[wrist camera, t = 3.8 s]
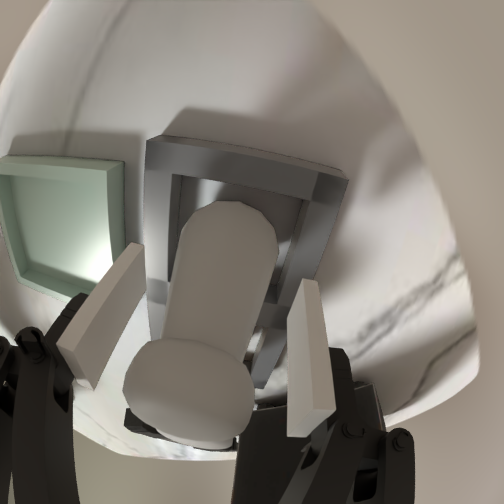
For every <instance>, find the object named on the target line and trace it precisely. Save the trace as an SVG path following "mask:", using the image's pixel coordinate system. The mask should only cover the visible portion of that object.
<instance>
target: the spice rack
mask: <svg viewBox="0 0 504 504" xmlns="http://www.w3.org/2000/svg"><path fill="white" fill-rule="evenodd" d="M182 175H185V176H191V177H197V178H203V179H209V180H215V181H220V182H225V183H231V184H236V185H241V186H246V187H251V188H256V189H260V190H265V191H270V192H274V193H279V194H283V195H288V196H292V197H296V198H301V199H303V203H302V206H301V210H300V213H299V216H298V220H297V223H296V227H295V230H294V233H293V237H292V240H291V243H290V246H289V250H288V253H287V256H286V259H285V263H284V266H283V269H282V272H281V275H280V278H279V282H278V285H277V286H273V285H269V286H268V289H267V292H266V295H265V298H264V301H263V304H262V307H261V310H260V313H259V316H258V319H257V322H256V326H262V327H263V330H262V333H261V336H260V339H259V342H258V345H257V348H256V350H255V353H254V356H253V359H252V362H248V361H243V364H244V365H246V367H247V370H248V372H249V374H250V376H251V378H252V381H253V384H254V388H258V389H264V387H265V385H266V383H267V381H268V379H269V377H270V375H271V373H272V371H273V369H274V367H275V365H276V363H277V360H278V358H279V356H280V354H281V352H282V350H283V348H284V345H285V343H286V341H287V317H288V314H289V312H290V309H291V307H292V304H293V302H294V299H295V297H296V294H297V291H298V289H299V286H300V284H301V281H302V278H304V279H309V280H313V278H314V276H315V273H316V270H317V268H318V265H319V263H320V260H321V258H322V255H323V252H324V250H325V247H326V244H327V242H328V239H329V236H330V234H331V231H332V228H333V225H334V223H335V220H336V217H337V214H338V211H339V208H340V205H341V202H342V199H343V196H344V193H345V190H346V187H347V184H348V181H349V179H348V178H347V177H346V176H345V175H344V173H343V172H342V171H341V170H338V169H335V168H331V167H328V166H324V165H320V164H317V163H313V162H309V161H305V160H301V159H297V158H293V157H289V156H284V155H280V154H276V153H271V152H266V151H262V150H257V149H252V148H247V147H241V146H236V145H230V144H224V143H218V142H212V141H205V140H198V139H191V138H183V137H175V136H166V135H159V136H156V137H154V138H151V139H149V140H146V153H145V169H144V195H143V240H144V245H145V268H146V284H147V289H146V296H147V308H148V317H149V326H150V335H151V341H153V340H158V339H160V335H161V330H162V325H163V320H164V314H165V308H166V303H167V297H168V292H169V287H170V282H171V276H172V272H173V267H174V262H175V257H176V253H177V233H178V218H179V204H180V192H181V182H182ZM156 430H157V431H158V432H159V433H160V434H162V435H163V436H165V437H167V438H169V439H171V440H173V441H176V442H178V443H181V444H184V445H188V446H192V447H197V448H203V449H225V448H229V447H231V446H232V443H233V438H231V439H227V440H224V441H211V442H207V441H195V440H188V439H183V438H179V437H176V436H173V435H170V434H167V433H164V432H162V431H160V430H158V429H156Z"/></svg>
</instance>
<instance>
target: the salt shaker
mask: <svg viewBox="0 0 504 504" xmlns="http://www.w3.org/2000/svg"><path fill="white" fill-rule="evenodd" d="M278 254H279V247H278V243H277V238H276V233H275V230H274V227H273V226H272V225H271V224H270V222H269V221H268V220H267V219H266V218H265V217H264V215H263V214H262V213H261V212H260V211H259V210H257V209H255V208H252V207H250V206H248V205H246V204H244V203H242V202H241V201H215V202H213V203H211V204H209V205H207V206H204V207H202V208H200V209H198V210H196V211H195V212H194V213H193V214H192V215H191V217H190V218H189V220H188V221H187V223H186V224H185V226H184V227H183V229H182V231H181V235H180V239H179V244H178V248H177V253H176V257H175V262H174V267H173V272H172V276H171V282H170V287H169V292H168V297H167V303H166V308H165V314H164V320H163V325H162V330H161V335H160V339H158V340H153V341H149V342H147V343H146V344H145V345H144V346H143V347H142V348H141V349H140V350H139V352H138V353H137V354H136V356H135V357H134V358H133V360H132V362H131V364H130V366H129V368H128V370H127V372H126V375H125V380H124V385H123V390H122V391H123V393H124V396H125V399H126V401H127V403H128V405H129V407H130V409H131V411H132V413H133V414H135V415H136V416H137V417H138V418H139V419H141V420H142V421H143V422H145V423H146V424H148V425H150V426H152V427H154V428H156V429H158V430H160V431H162V432H164V433H167V434H170V435H173V436H176V437H179V438H183V439H188V440H195V441H207V442H211V441H224V440H227V439H231V438H234V437H235V436H237V435H239V434H240V433H242V432H243V431H244V430H245V428H246V427H247V425H248V423H249V421H250V418H251V414H252V411H253V408H254V399H255V388H254V384H253V381H252V378H251V376H250V374H249V372H248V370H247V367H246V365H244V364H243V360H244V357H245V354H246V351H247V348H248V345H249V343H250V340H251V337H252V334H253V331H254V328H255V325H256V322H257V319H258V316H259V313H260V310H261V307H262V304H263V301H264V298H265V295H266V292H267V289H268V286H269V283H270V280H271V277H272V274H273V271H274V268H275V264H276V261H277V258H278Z"/></svg>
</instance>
